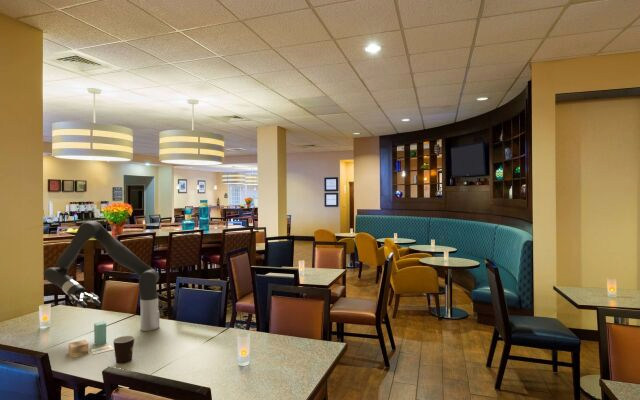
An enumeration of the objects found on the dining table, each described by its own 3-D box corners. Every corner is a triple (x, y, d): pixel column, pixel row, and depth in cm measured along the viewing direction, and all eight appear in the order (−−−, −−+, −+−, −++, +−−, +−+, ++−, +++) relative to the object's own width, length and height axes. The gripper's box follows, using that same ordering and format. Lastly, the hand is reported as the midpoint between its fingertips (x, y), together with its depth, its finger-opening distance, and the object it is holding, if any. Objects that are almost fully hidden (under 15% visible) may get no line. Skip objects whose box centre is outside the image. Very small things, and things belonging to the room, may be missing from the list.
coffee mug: (125, 365, 168) (125, 343, 168) (108, 364, 170) (108, 342, 170) (142, 355, 180) (142, 334, 180) (126, 353, 182) (126, 332, 181)
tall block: (104, 340, 198) (104, 321, 198) (106, 342, 195) (106, 323, 195) (94, 342, 195) (94, 323, 195) (96, 345, 192) (96, 325, 192)
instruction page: (110, 345, 192) (110, 344, 192) (114, 349, 187) (114, 348, 187) (90, 350, 186) (90, 349, 186) (93, 354, 180) (93, 354, 180)
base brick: (85, 349, 187) (85, 339, 187) (88, 353, 182) (88, 343, 182) (68, 353, 182) (68, 343, 182) (71, 358, 177) (71, 347, 177)
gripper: (65, 284, 199) (84, 301, 194) (88, 282, 212) (107, 298, 207) (58, 296, 199) (77, 313, 194) (81, 294, 212) (100, 310, 207)
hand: (93, 305), depth 201 cm, fingers open, 8 cm apart
